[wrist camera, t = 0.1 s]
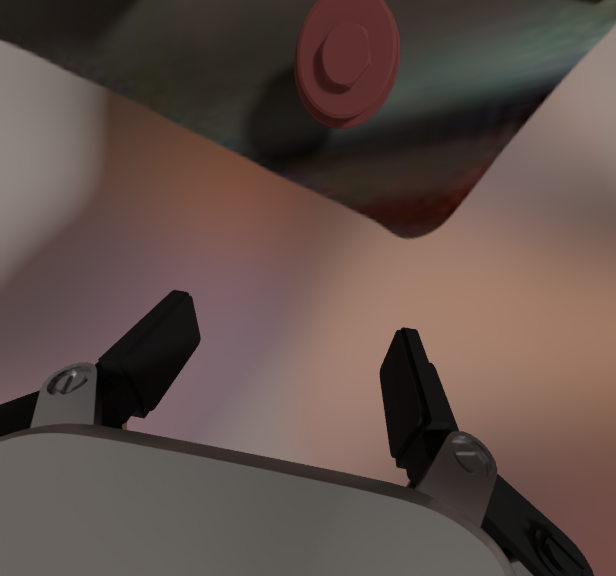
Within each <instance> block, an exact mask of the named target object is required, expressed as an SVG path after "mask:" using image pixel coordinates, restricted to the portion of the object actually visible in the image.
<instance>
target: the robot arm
mask: <svg viewBox="0 0 616 576" xmlns="http://www.w3.org/2000/svg"><path fill="white" fill-rule="evenodd" d="M200 339H201V338H200V332H199V327H198V323H197V318H196V313H195V309H194V304H193V299H192V297H191V296H189V293H188V292H184V291H178V290H173V291H172V292H170V293H169V294H168V295H167V296H166V297H165V298H164V299H163V300H162V301H161V302H160V303H158V304H157V305H156V306H155V307H154V308H153V309H152V310H151V311H150V312H149V313H148V314H147V315H146V316H145V317H144V318H142V319H141V320H140V321H139V322H138V323H137V324H136V325H135V326H134V327H133V328H132V329H131V330H129V331H128V332H127V333H126V334H125V335H124V336H123V337H122V338H121V339H120V340H119V341H118V342H117V343H115V344H114V345H113V346H112V347H111V348H110V349H109V350H108V351H107V352H106V353H105V354H103V355H102V357H100V358H99V359H98V360H99V362H98V363H97V364H95V365H93V364H91V363H77V364H72V365H70V366H67V367H64V368H62V369H60V370H59V371H57V372H55V373H54V374H53V375H51V376H50V377H49V378H48V379H47V380H46V381H45V382H44V383H43V385H42V387H41V389H40V390H39V391H37V392H34V393H31V394H28V395H26V396H23V397H20V398H17V399H15V400H12V401H9V402H7V403H4V404H1V405H0V576H594V574H593V571H592V569H591V567H590V566H589V564H588V562H587V560H586V558H585V557H584V556H583V554H582V553H581V551H580V550H579V549H578V547H577V546H576V545H575V544H574V543H573V542H572V541H571V540H570V539H569V538H568V537H567V536H566V535H565V534H564V533H563V532H562V531H561V530H560V529H559V528H558V527H557V526H555V525H554V524H553V523H552V522H551V521H550V520H549V519H548V518H546V517H545V516H544V515H543V514H542V513H541V512H540V511H539V510H537V509H536V508H535V507H534V506H533V505H532V504H531V503H530V502H529V501H527V500H526V499H525V498H524V497H523V496H522V495H521V494H520V493H518V492H517V491H516V490H515V489H514V488H513V487H512V486H511V485H509V484H508V483H507V482H506V481H505V480H504V479H503V478H502V477H501V476H499V475H498V474H497V471H498V469H497V465H496V462H495V459H494V458H493V456H492V454H491V452H490V451H489V450H488V448H487V447H486V446H485V445H484V444H483V443H482V442H481V441H480V440H479V439H477V438H476V437H474V436H472V435H471V434H469V433H466V432H463V431H459V429H458V427H457V424H456V421H455V419H454V416H453V413H452V411H451V408H450V405H449V403H448V400H447V397H446V395H445V392H444V389H443V387H442V384H441V381H440V379H439V376H438V374H437V371H436V368H435V367H434V365H433V364H432V363H429V361H428V358H427V356H426V353H425V350H424V348H423V345H422V342H421V339H420V336H419V334H418V331H417V330H416V329H410V328H401V330H397V331H396V333H395V335H394V338H393V340H392V343H391V345H390V347H389V349H388V352H387V354H386V357H385V359H384V361H383V364H382V366H381V368H380V382H381V389H382V396H383V403H384V410H385V418H386V425H387V432H388V439H389V447H390V453H391V456H392V457H393V458H395V459H396V466H397V467H398V468H403V469H406V471H407V476H408V478H409V480H410V481H409V482H408V484H407V486H406V487H404V486H400V485H396V484H393V483H389V482H384V481H380V480H376V479H371V478H367V477H362V476H357V475H353V474H348V473H344V472H339V471H334V470H329V469H324V468H319V467H314V466H309V465H304V464H299V463H295V462H290V461H285V460H280V459H274V458H269V457H265V456H259V455H254V454H249V453H244V452H239V451H234V450H229V449H224V448H219V447H214V446H209V445H203V444H198V443H192V442H188V441H183V440H177V439H172V438H167V437H162V436H156V435H151V434H146V433H140V432H135V431H128V430H127V421H128V419H129V418H130V417H131V416H134V417H139V418H145V417H146V416H147V414H148V413H149V411H152V410H154V409H155V408H156V406H157V405H158V403H159V402H160V400H161V399H162V397H163V396H164V395H165V393H166V392H167V390H168V389H169V387H170V386H171V384H172V383H173V381H174V380H175V379H176V377H177V376H178V374H179V373H180V371H181V370H182V368H183V367H184V365H185V364H186V362H187V361H188V360H189V358H190V357H191V355H192V354H193V352H194V351H195V349H196V348H197V346H198V345H199V343H200Z"/></svg>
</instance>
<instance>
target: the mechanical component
mask: <svg viewBox="0 0 616 576" xmlns="http://www.w3.org/2000/svg"><path fill="white" fill-rule="evenodd" d="M399 60H400V41H399V33H398V29H397V25H396V22H395V20H394V17H393V15H392V13H391V11H390V10H389V8H388V6H387V4H386V3H385V1H384V0H318V1H317V2H316V3H315V5H314V6H313V7H312V9H311V11H310V12H309V14H308V15H307V18H306V20H305V22H304V24H303V26H302V29H301V31H300V34H299V37H298V40H297V45H296V49H295V57H294V74H295V82H296V87H297V90H298V93H299V96H300V98H301V101H302V103H303V105H304V106H305V108H306V109H307V111H308V112H309V113H310V114H311V116H312V117H314V118H315V119H316V120H317V121H318V122H320V123H321V124H323V125H325V126H328V127H330V128H335V129H348V128H352V127H355V126H358V125H360V124H362V123H364V122H365V121H367V120H368V119H370V118H371V117H372V116H373V115H374V114H375V113H376V112H377V111H378V110H379V109H380V108H381V107H382V105H383V104H384V102H385V101H386V99H387V98H388V96H389V94H390V92H391V90H392V88H393V85H394V82H395V79H396V76H397V72H398V67H399Z"/></svg>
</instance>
